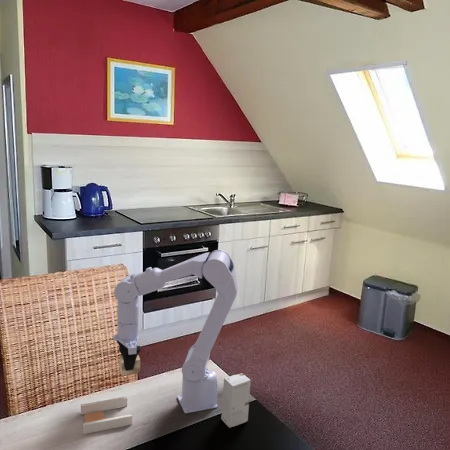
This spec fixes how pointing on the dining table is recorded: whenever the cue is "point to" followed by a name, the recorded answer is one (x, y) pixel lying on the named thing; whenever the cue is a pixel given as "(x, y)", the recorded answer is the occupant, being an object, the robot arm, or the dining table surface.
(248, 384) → the skincare box
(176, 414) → the dining table surface
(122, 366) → the block
